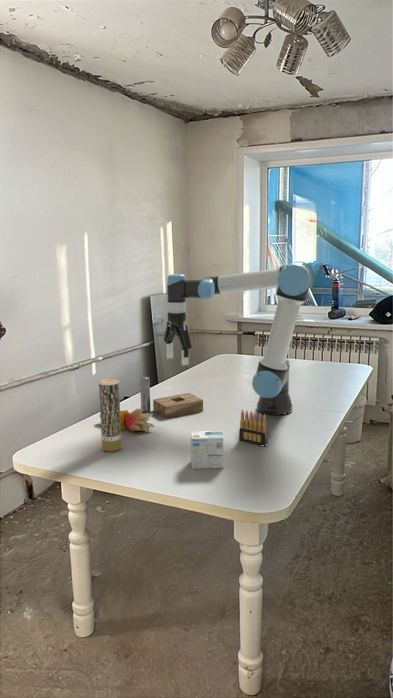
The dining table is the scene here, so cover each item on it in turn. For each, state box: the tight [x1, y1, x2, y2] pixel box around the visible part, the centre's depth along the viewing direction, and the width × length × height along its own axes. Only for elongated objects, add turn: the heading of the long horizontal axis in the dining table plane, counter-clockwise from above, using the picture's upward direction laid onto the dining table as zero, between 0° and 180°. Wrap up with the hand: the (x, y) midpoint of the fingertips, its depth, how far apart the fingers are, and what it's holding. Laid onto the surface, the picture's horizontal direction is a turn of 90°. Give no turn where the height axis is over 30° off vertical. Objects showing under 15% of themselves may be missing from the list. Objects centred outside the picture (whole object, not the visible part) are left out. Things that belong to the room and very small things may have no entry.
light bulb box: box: [190, 430, 225, 470], centre depth 173 cm, size 11×7×11 cm, turn 92°
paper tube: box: [98, 378, 122, 453], centre depth 185 cm, size 7×7×25 cm
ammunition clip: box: [238, 409, 268, 447], centre depth 191 cm, size 11×2×12 cm, turn 58°
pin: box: [139, 376, 152, 414], centre depth 221 cm, size 4×4×16 cm
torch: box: [99, 408, 156, 433], centre depth 207 cm, size 8×8×25 cm
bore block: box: [152, 392, 204, 419], centre depth 227 cm, size 12×18×5 cm, turn 121°
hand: (177, 361), depth 223 cm, fingers open, 13 cm apart
